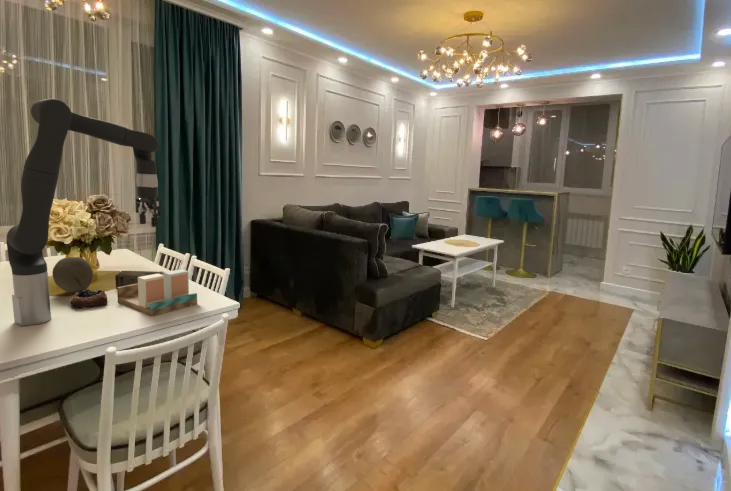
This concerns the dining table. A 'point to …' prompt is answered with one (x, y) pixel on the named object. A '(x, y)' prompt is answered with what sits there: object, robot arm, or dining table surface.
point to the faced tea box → (176, 284)
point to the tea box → (151, 289)
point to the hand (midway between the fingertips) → (148, 225)
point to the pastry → (89, 299)
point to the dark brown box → (131, 277)
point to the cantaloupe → (73, 274)
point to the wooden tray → (130, 298)
